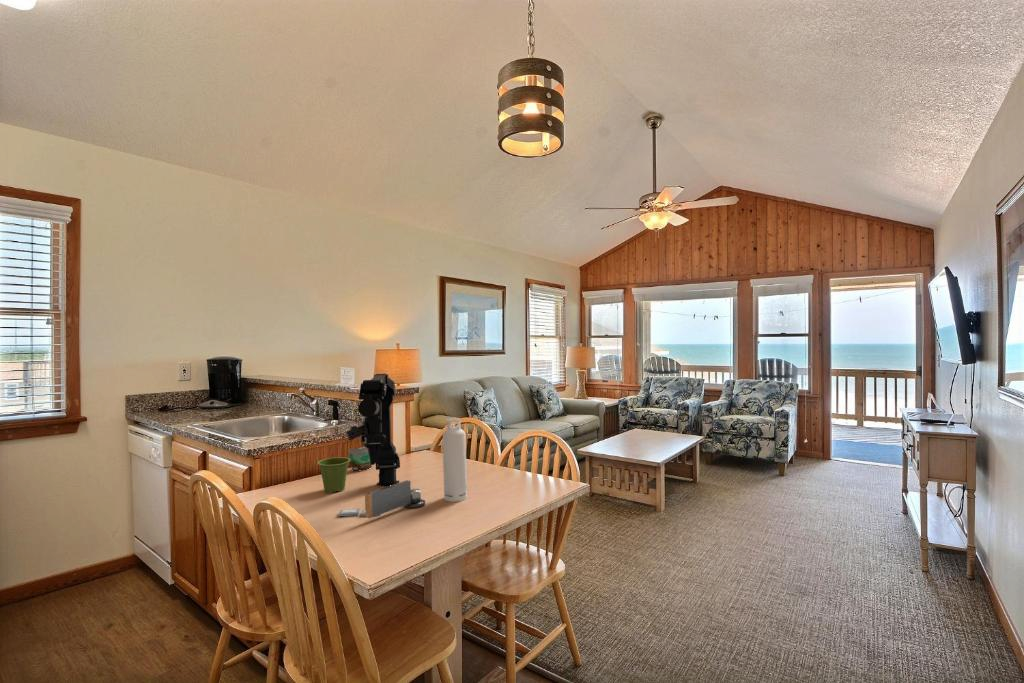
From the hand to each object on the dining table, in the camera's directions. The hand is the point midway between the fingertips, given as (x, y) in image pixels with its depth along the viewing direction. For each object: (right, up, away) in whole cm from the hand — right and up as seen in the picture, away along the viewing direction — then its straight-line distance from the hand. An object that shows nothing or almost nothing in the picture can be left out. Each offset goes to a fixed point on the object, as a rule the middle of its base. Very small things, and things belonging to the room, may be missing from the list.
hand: (372, 464), depth 164 cm
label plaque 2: (0, -16, -2) cm, 16 cm away
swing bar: (+7, -14, -1) cm, 16 cm away
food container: (-19, -16, +56) cm, 61 cm away
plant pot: (-22, -16, +26) cm, 37 cm away
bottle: (+26, -15, +13) cm, 33 cm away
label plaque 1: (-7, -16, -1) cm, 17 cm away
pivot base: (+13, -15, +6) cm, 21 cm away
